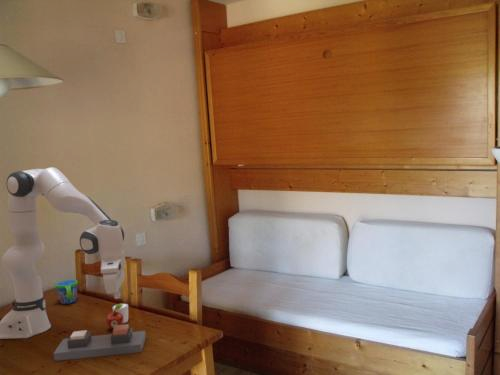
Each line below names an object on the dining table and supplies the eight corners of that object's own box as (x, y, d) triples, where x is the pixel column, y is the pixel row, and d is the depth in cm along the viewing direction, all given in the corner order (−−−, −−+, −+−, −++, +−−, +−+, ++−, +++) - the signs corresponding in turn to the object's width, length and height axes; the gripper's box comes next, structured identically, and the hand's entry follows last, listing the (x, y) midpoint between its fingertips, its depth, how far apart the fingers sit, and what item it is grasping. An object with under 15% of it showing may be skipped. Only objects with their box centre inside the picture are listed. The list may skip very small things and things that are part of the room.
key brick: (113, 337, 191) (113, 330, 190) (116, 332, 196) (115, 325, 195) (127, 336, 191) (126, 329, 191) (129, 331, 196) (128, 324, 196)
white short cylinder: (131, 318, 224) (130, 303, 223) (126, 324, 217) (125, 308, 217) (117, 318, 225) (115, 303, 224) (111, 324, 218) (109, 309, 217)
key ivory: (71, 344, 189) (70, 336, 189) (74, 338, 194) (73, 331, 194) (84, 342, 190) (83, 335, 189) (87, 337, 195) (86, 330, 194)
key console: (54, 361, 186) (52, 345, 185) (64, 346, 198) (62, 331, 198) (141, 352, 188) (140, 336, 187) (145, 337, 201) (144, 323, 200)
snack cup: (57, 299, 258) (55, 280, 257) (79, 295, 261) (76, 276, 260) (57, 308, 243) (55, 288, 242) (80, 304, 247) (78, 284, 246)
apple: (117, 332, 208) (115, 309, 207) (104, 331, 211) (101, 308, 210) (128, 325, 216) (126, 303, 214) (114, 324, 218) (112, 302, 217)
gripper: (110, 256, 200) (114, 290, 201) (99, 270, 180) (104, 307, 181) (126, 255, 200) (130, 288, 202) (117, 268, 180) (121, 305, 182)
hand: (117, 297), depth 191 cm, fingers closed
